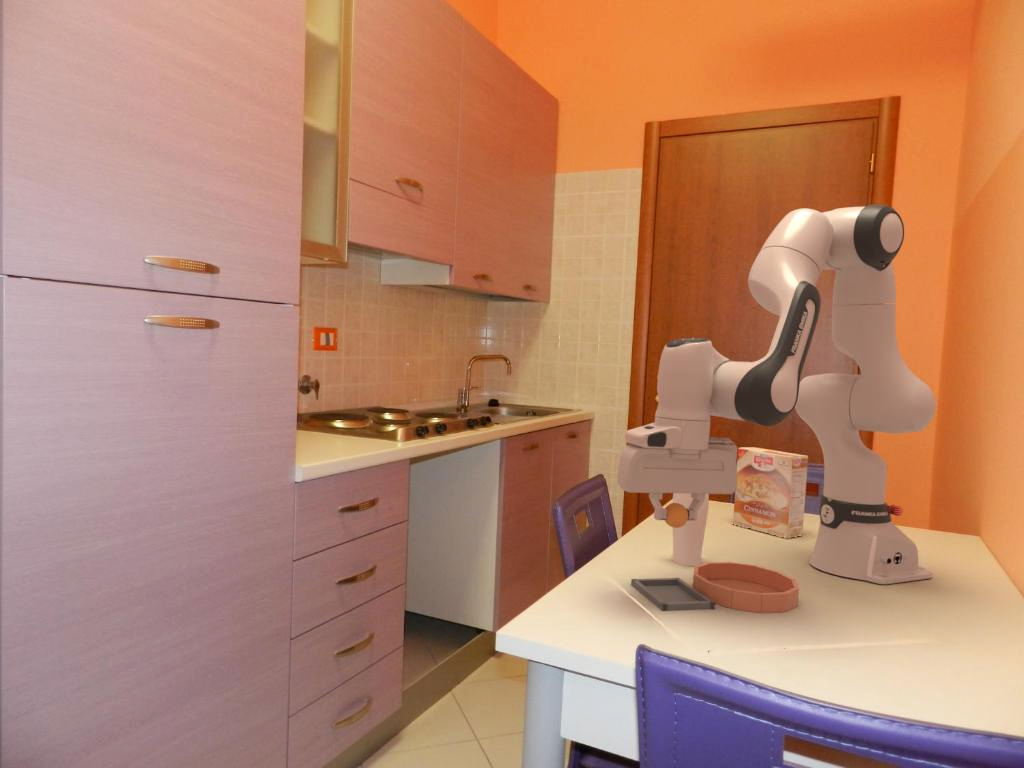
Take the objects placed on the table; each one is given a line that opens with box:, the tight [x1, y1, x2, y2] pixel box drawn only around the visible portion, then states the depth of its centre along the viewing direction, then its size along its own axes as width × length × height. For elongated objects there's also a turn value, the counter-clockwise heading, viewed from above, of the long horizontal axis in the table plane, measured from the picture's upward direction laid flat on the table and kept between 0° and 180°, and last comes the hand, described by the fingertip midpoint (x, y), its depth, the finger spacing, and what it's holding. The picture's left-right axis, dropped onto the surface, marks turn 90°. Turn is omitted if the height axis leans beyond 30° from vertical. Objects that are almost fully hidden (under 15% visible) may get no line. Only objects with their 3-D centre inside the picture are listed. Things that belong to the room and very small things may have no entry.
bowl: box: [692, 561, 800, 614], centre depth 115 cm, size 17×17×4 cm
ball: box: [664, 502, 688, 528], centre depth 111 cm, size 4×4×4 cm
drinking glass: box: [672, 493, 710, 567], centre depth 132 cm, size 7×7×15 cm
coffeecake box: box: [732, 446, 809, 539], centre depth 165 cm, size 15×7×20 cm, turn 36°
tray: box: [630, 577, 716, 612], centre depth 112 cm, size 9×12×2 cm
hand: (675, 519), depth 112 cm, fingers closed on ball, 4 cm apart
